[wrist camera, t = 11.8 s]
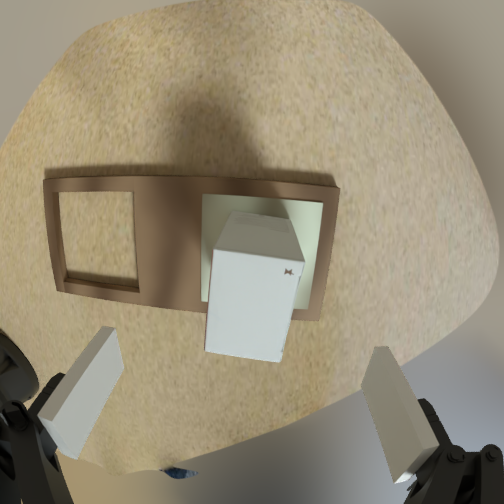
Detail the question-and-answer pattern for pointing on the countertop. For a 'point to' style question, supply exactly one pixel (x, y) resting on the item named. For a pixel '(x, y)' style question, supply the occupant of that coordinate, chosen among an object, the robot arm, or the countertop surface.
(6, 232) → the countertop surface
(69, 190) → the board
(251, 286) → the small box
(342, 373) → the countertop surface
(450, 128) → the countertop surface
